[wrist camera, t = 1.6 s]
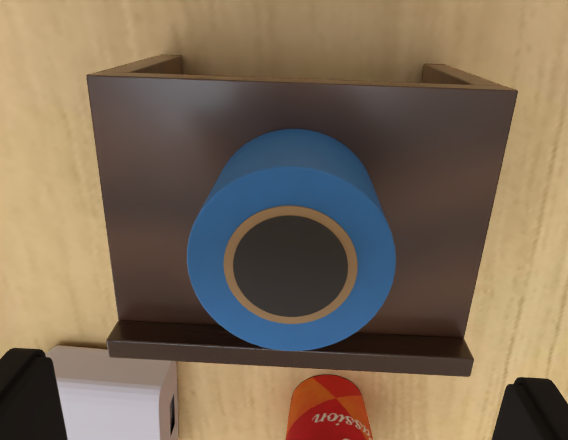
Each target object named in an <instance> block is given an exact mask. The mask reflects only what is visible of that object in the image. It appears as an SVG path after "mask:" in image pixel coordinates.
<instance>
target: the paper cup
mask: <svg viewBox="0 0 568 440" xmlns="http://www.w3.org/2000/svg"><path fill="white" fill-rule="evenodd" d="M286 440H373V437H372V433H371V429H370V424H369V420H368V416H367V412H366V408H365V404H364V401H363V397H362V395H361V393H360V391H359V389H358V388H357V387H356V386H355V385H354V384H353V383H352V382H350V381H349V380H347V379H345V378H342V377H339V376H335V375H319V376H315V377H311V378H309V379H307V380H305V381H304V382H302V383H301V384H300V385H299V386H298V387H297V388H296V389H295V391H294V393H293V396H292V399H291V405H290V411H289V418H288V426H287V433H286Z"/></svg>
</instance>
